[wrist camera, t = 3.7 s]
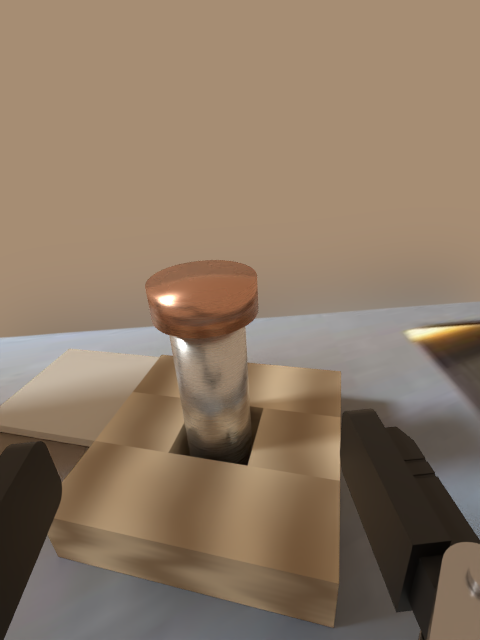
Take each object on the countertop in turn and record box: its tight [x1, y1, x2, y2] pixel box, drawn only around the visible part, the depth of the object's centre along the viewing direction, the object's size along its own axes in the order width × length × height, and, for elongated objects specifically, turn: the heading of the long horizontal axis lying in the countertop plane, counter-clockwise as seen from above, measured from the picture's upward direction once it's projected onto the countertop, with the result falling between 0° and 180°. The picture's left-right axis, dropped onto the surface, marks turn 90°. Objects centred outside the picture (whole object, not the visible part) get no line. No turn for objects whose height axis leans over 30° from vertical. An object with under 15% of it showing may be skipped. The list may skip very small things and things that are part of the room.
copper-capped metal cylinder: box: [145, 260, 258, 466], centre depth 23 cm, size 6×6×15 cm
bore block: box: [47, 355, 341, 628], centre depth 26 cm, size 16×16×4 cm
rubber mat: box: [0, 349, 159, 447], centre depth 35 cm, size 12×12×1 cm
